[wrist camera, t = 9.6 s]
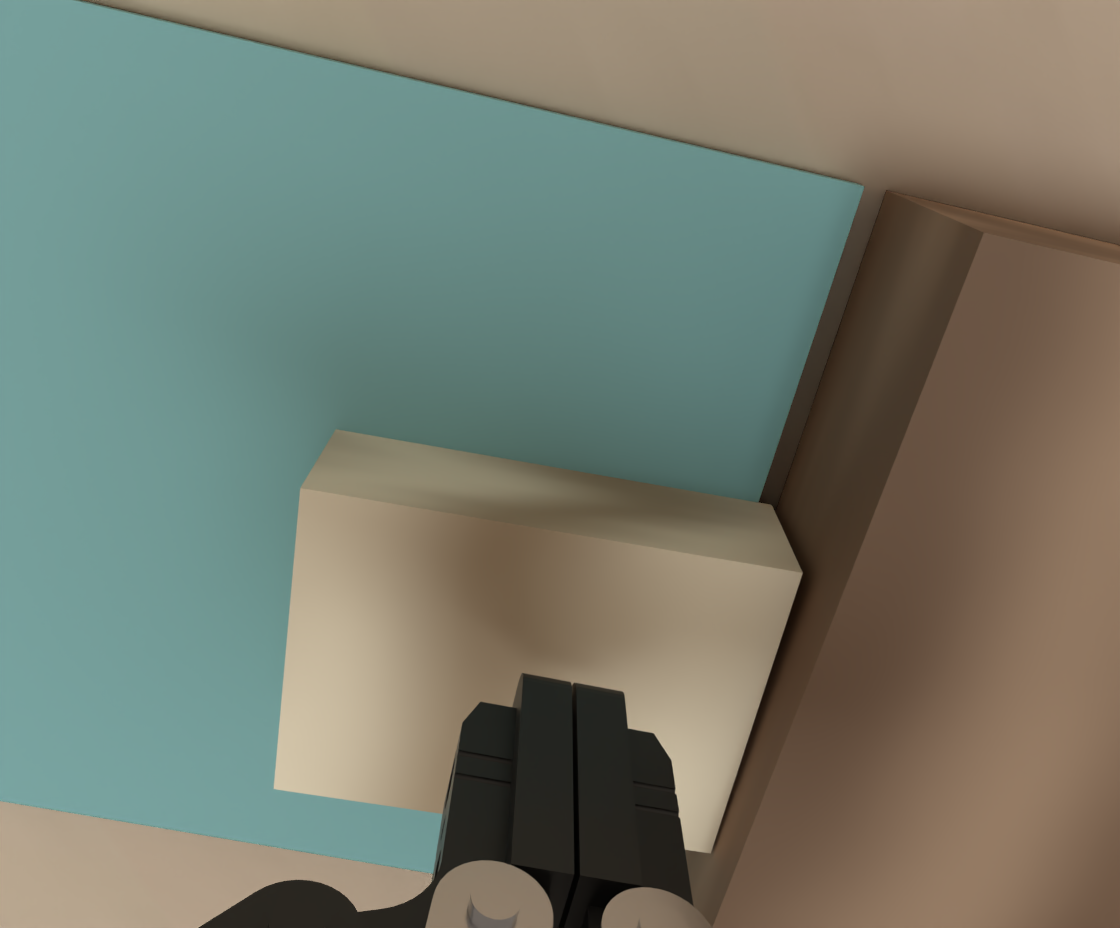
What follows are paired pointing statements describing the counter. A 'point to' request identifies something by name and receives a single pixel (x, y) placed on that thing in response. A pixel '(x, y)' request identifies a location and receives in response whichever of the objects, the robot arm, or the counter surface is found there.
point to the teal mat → (323, 369)
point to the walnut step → (945, 602)
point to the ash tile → (518, 616)
